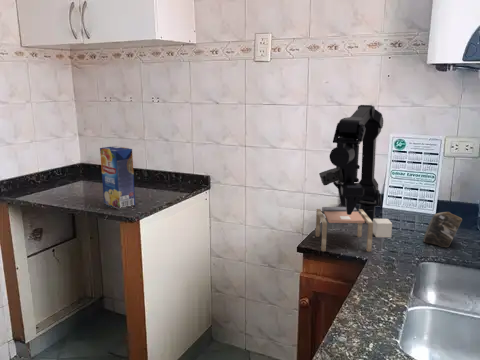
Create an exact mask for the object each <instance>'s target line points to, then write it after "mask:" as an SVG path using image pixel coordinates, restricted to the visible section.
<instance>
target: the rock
mask: <svg viewBox="0 0 480 360" xmlns="http://www.w3.org/2000/svg"><path fill="white" fill-rule="evenodd" d="M462 222H463V218H462V217H460V216H458V215H456V214H453V213H451V212H450V211H442V212H438V213H434V215H432V217H431V219H430V221H429V223H428V226H427V228H426V230H425V234H424V237H423V240H422V242H423V243H426V244H432V245H434V246H435V245H436V246H438V247H441V248H449V247H450V245H451V243H452V241H453V240H454V237H455V236H456V234H457V232H458V229H459V228H460V226H461V223H462Z"/></svg>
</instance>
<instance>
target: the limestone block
mask: <svg viewBox="0 0 480 360" xmlns="http://www.w3.org/2000/svg"><path fill="white" fill-rule="evenodd" d="M392 231H393V222H391V220H390V219H389V218H376V219H373V234H372V235H373V236H375V237H376V238H392V234H393V233H392Z"/></svg>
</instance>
